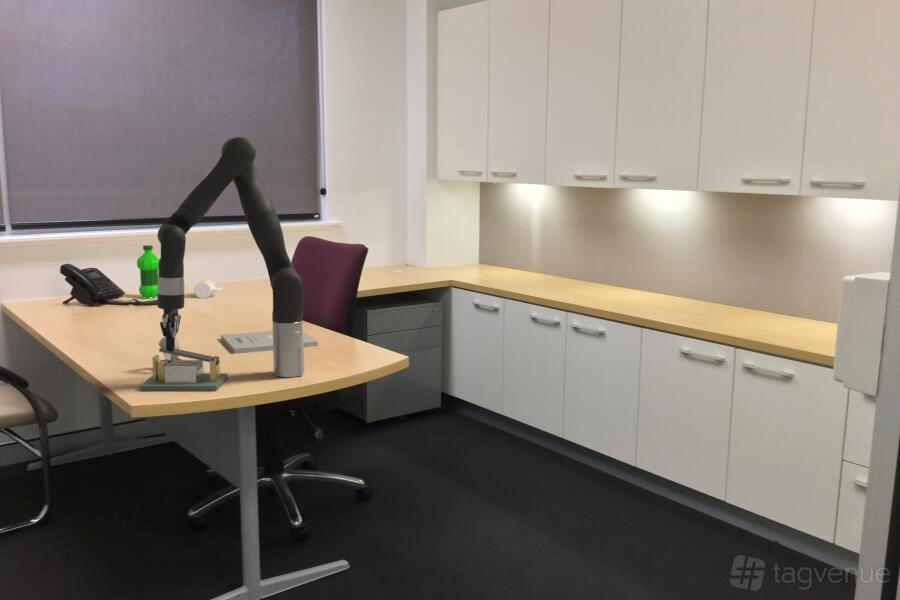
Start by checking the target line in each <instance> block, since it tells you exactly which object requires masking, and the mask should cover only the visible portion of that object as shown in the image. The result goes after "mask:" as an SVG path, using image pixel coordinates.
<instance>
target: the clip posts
mask: <svg viewBox="0 0 900 600" xmlns="http://www.w3.org/2000/svg"><path fill="white" fill-rule="evenodd" d="M217 357H218V358H219V360H218V361H217V362H216V361H210V362H209V373H210V382H216V381H218V380H219V379H220V373H221V363H220V362H221V360H220V356H217ZM151 358H152V359H151V360H152V375H153V378H154V381H157V380H158V381H165V366H167V364H168V361H160V355H159V354H155V355H154V356H153V357H151Z"/></svg>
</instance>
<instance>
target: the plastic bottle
mask: <svg viewBox="0 0 900 600" xmlns="http://www.w3.org/2000/svg"><path fill="white" fill-rule="evenodd" d="M153 249H154V247H153V245H150V244H148V245H143V246H142V250H143V251H144V252H143V254H141V255H140V257H138V258H137V260H136V266H137V268H138V269H139V272H140V274H139V275H140V286H139V288H138V293H139V294H140V295H141V296H142V297H143V298H145V297H146V298H145V299H147V298H150V297H156V296H157V285H158V277H159V276H158V274H159V260H160V258H159V257H158V256H157V255H155V254H154V253H153V251H152V250H153ZM156 298H157V297H156Z"/></svg>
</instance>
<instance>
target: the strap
mask: <svg viewBox="0 0 900 600" xmlns="http://www.w3.org/2000/svg"><path fill="white" fill-rule="evenodd" d="M158 352H160V353H163V352H164V353H169V354H173V355H178V357H184V358H188V359H191V360H202V361H203V362H206V363H207V362H208V363H210V361H216V362H217V361H218V360H219V359H220V357H219V356H217V355H215V356H211V355H206V354H202V353H197V352H192V351H188V350H183V349H180V348H179V349H173V350H167V349H166V347H165V346H163V347H160V348H159V350H158ZM218 357H219V358H218Z"/></svg>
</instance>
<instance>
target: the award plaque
mask: <svg viewBox="0 0 900 600" xmlns="http://www.w3.org/2000/svg"><path fill="white" fill-rule="evenodd" d="M220 340H221V341H222V343H224V344H225V345H226V347H228V348H229V350H230V351H232V353H233V354H234V355H236V354H237V355H238V354H247V353H257V352H258V353H259V352H266V351H267V352H269V351H273V330H264V331H253V332H252V331H251V332H240V333H229V334H221V335H220ZM303 342H304V348H311V347H310V346H313V347H319V341H318V340H317V339H315V338H313V337H312V336H311V335H309V334H307V332H305V331H304V330H303Z"/></svg>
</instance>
